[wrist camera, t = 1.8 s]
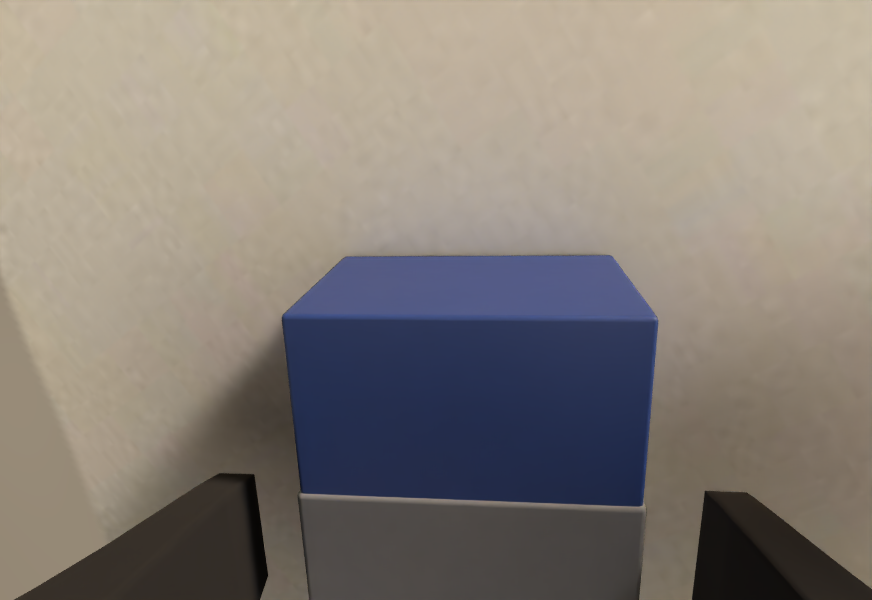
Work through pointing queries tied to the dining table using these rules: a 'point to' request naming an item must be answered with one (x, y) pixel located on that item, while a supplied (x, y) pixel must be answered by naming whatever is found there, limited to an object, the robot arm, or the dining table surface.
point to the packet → (472, 428)
